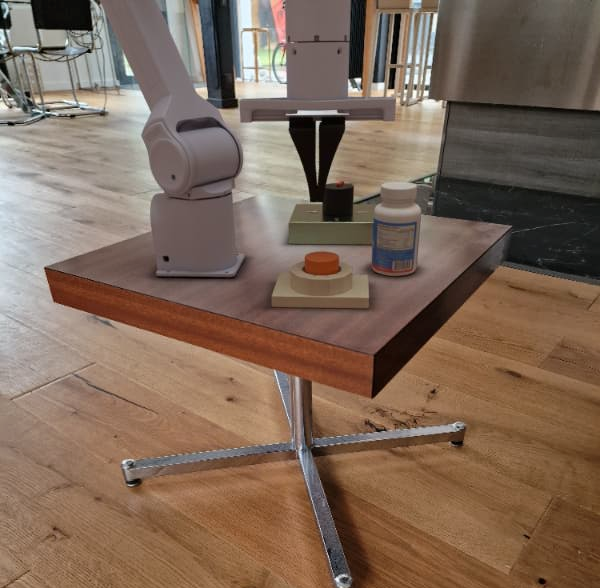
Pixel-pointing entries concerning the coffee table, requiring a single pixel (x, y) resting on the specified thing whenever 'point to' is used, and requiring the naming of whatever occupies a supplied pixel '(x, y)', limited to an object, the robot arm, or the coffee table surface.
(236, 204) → the coffee table surface
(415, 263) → the pill bottle
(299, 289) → the switch block
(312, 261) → the button
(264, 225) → the coffee table surface
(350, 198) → the dial
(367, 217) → the panel
